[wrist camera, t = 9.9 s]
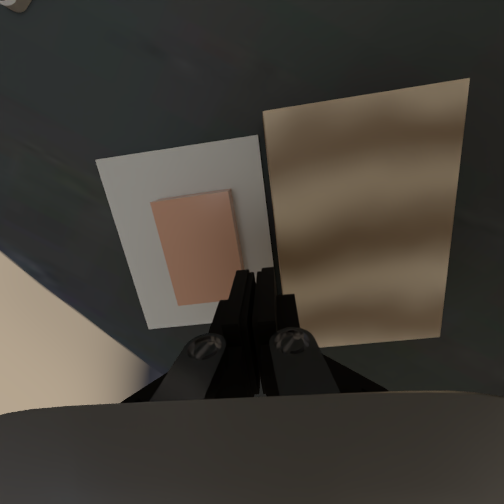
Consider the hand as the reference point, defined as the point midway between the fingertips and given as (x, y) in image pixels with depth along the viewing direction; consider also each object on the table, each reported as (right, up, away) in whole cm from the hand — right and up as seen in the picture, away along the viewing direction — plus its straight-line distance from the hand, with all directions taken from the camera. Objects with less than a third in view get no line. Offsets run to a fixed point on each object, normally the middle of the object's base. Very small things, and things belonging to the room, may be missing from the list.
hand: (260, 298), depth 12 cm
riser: (+8, +4, +11) cm, 14 cm away
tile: (-4, +2, +9) cm, 11 cm away
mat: (-5, +3, +12) cm, 13 cm away
